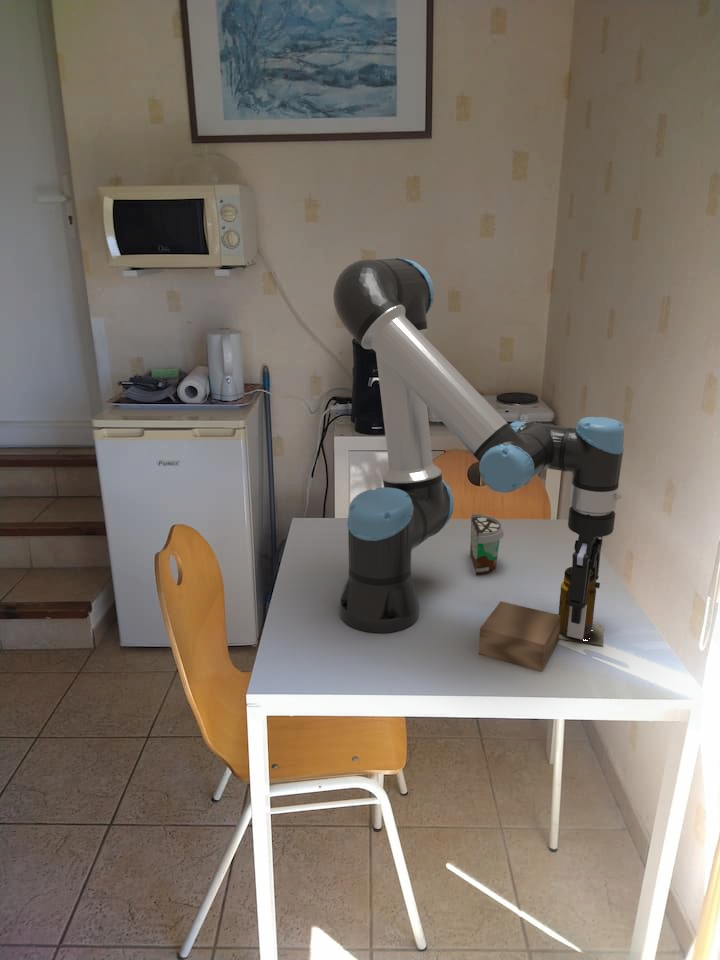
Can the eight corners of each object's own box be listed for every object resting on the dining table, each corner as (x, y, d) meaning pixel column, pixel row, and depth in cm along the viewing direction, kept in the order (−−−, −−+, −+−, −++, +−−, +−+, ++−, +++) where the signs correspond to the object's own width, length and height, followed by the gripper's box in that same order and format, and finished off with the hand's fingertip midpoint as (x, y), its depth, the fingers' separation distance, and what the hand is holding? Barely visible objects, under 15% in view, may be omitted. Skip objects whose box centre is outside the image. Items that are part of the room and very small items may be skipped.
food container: (505, 578, 150) (508, 534, 147) (476, 578, 150) (479, 534, 147) (496, 554, 162) (499, 513, 159) (469, 554, 162) (471, 513, 159)
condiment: (556, 619, 134) (562, 561, 130) (603, 627, 131) (611, 567, 127) (552, 638, 127) (558, 577, 124) (602, 647, 125) (610, 585, 121)
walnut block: (478, 653, 123) (480, 628, 121) (498, 625, 132) (500, 601, 130) (542, 671, 118) (544, 644, 116) (558, 640, 127) (561, 615, 125)
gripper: (604, 531, 112) (589, 659, 119) (624, 495, 128) (610, 610, 135) (556, 522, 116) (544, 647, 123) (582, 489, 131) (570, 601, 139)
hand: (579, 627), depth 129 cm, fingers closed on condiment, 6 cm apart
